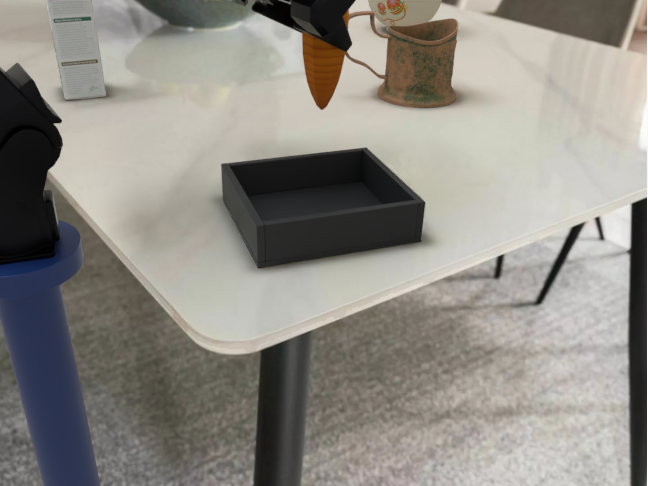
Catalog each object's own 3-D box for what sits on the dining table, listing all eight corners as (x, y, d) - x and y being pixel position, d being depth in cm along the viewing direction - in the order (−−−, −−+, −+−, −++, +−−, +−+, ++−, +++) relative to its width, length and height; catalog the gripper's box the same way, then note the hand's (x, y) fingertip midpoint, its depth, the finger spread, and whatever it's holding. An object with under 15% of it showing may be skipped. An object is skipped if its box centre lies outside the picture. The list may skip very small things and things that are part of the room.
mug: (328, 87, 102) (331, 4, 96) (437, 81, 106) (446, 1, 100) (350, 112, 92) (354, 21, 86) (469, 105, 96) (481, 17, 90)
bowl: (345, 29, 136) (347, -24, 131) (398, 19, 146) (402, -31, 141) (405, 45, 126) (410, -12, 121) (458, 33, 136) (464, -20, 131)
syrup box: (107, 97, 95) (92, -13, 88) (63, 100, 93) (44, -11, 86) (102, 85, 100) (88, -20, 93) (60, 88, 98) (42, -18, 90)
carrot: (337, 101, 77) (344, -42, 69) (350, 115, 73) (360, -35, 65) (294, 103, 76) (297, -42, 68) (305, 118, 71) (310, -35, 64)
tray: (257, 268, 57) (256, 226, 55) (222, 200, 68) (220, 163, 66) (421, 241, 62) (425, 201, 60) (364, 182, 73) (366, 147, 71)
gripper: (354, -141, 54) (442, -3, 64) (246, -145, 67) (334, -30, 78) (266, -31, 54) (369, 89, 65) (176, -57, 67) (274, 45, 78)
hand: (335, 42), depth 71 cm, fingers closed on carrot, 5 cm apart
